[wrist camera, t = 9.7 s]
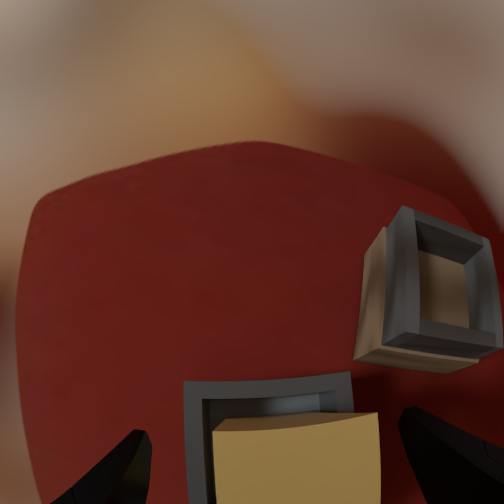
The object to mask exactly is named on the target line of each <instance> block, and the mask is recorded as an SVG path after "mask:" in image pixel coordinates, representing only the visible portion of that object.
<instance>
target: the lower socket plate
mask: <svg viewBox="0 0 504 504" xmlns="http://www.w3.org/2000/svg"><path fill="white" fill-rule="evenodd" d="M294 412H320V413H354V404H353V393H352V384H351V375H350V371H347V372H341V373H334V374H326V375H318V376H309V377H299V378H288V379H275V380H258V381H184V430H185V453H186V470H187V484H188V495H189V504H217V499H216V486H215V471H214V454H213V433H212V431H213V430H214V429H215V428H216V427H218V426H219V425H220V424H221V423H222V422H223V421H224V420H225V419H226V418H227V417H228V416H255V415H272V414H284V413H294Z"/></svg>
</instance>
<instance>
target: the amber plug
mask: <svg viewBox="0 0 504 504" xmlns="http://www.w3.org/2000/svg"><path fill="white" fill-rule="evenodd" d="M212 433H213V454H214V471H215V486H216V499H217V504H380V500H381V467H380V441H379V426H378V413H377V412H376V413H320V412H294V413H284V414H272V415H255V416H228V417H227V418H226V419H225V420H224V421H223V422H222V423H221V424H220V425H219V426H218V427H216V428H215V429H214V430H213V431H212Z"/></svg>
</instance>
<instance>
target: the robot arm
mask: <svg viewBox="0 0 504 504" xmlns="http://www.w3.org/2000/svg"><path fill="white" fill-rule="evenodd" d="M398 429H399V432H400V435H401V438H402V441H403V445H404V448H405V451H406V454H407V457H408V460H409V462H410V465H411V467H412V469H413V471H414V474H415V476H416V478H417V481H418V483H419V485H420V488H421V490H422V493H423V495H424V497H425V500H426V502H427V504H504V448H501V447H498V446H496V445H493V444H491V443H489V442H487V441H485V440H484V441H483V440H482V439H480V438H478V437H476V436H474V435H472V434H470V433H468V432H466V431H464V430H461V429H459V428H457V427H455V426H453V425H451V424H449V423H447V422H446V421H444V420H442V419H440V418H438V417H436V416H434V415H432V414H430V413H428V412H426V411H424V410H423V409H421V408H419V407H417V406H410V407H407V408H405V409H404V411H403V413H402V415H401V417H400V419H399V422H398ZM151 457H152V444H151V442H150V439H149V437H148V434H147V432H146V431H144V430H137V429H135V430H133V431H132V432H130V433H129V434H128V435H127V436H126V437H125V438H124V439H123V440H122V441H121V442H120V443H119V444H118V445H117V446H116V447H115V448H114V449H113V450H111V451H110V452H109V453H108V454H107V455H106V456H105V457H104V458H103V459H102V460H101V461H100V462H99V463H97V464H96V465H95V466H94V467H93V468H92V469H91V470H90V471H89V472H88V473H86V474H85V475H84V476H83V477H82V478H81V479H80V480H79V481H77V482H76V483H75V484H74V485H73V486H72V487H70V488H69V489H68V490H67V491H66V492H65V493H63V494H62V495H61V496H60V497H58V498H57V499H56V500H54V501H53V502H51V503H50V504H145V503H146V498H147V494H148V489H149V481H150V469H151Z"/></svg>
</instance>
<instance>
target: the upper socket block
mask: <svg viewBox="0 0 504 504" xmlns="http://www.w3.org/2000/svg"><path fill="white" fill-rule="evenodd" d="M500 349H503V327H502V315H501V305H500V296H499V289H498V282H497V276H496V271H495V265H494V260H493V256H492V251H491V247H490V242H489V240H488V239H486V238H484V237H482V236H479V235H477V234H475V233H472V232H470V231H468V230H465V229H463V228H461V227H458V226H456V225H453V224H451V223H448V222H446V221H443V220H441V219H438V218H435V217H433V216H430V215H427V214H425V213H422V212H419V211H416V210H414V209H411V208H408V207H405V206H402V207H401V208H400V210H399V211H398V213H397V214H396V216H395V217H394V219H393V221H392V222H391V224H390V225H389V226H388V228H385V227H383V228H382V230H381V231H380V233H379V234H378V236H377V237H376V239H375V240H374V242H373V243H372V245H371V246H370V247H369V249H368V250H367V252H366V253H365V257H364V272H363V285H362V296H361V306H360V314H359V323H358V330H357V338H356V344H355V351H354V357H353V361H359V362H364V363H370V364H376V365H382V366H389V367H396V368H403V369H410V370H418V371H427V372H436V373H446V374H447V373H450V372H453V371H457V370H459V369H462V368H465V367H468V366H471V365H474V364H476V363H479V358H482V357H484V356H487V355H489V354H491V353H494V352H496V351H498V350H500Z"/></svg>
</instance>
